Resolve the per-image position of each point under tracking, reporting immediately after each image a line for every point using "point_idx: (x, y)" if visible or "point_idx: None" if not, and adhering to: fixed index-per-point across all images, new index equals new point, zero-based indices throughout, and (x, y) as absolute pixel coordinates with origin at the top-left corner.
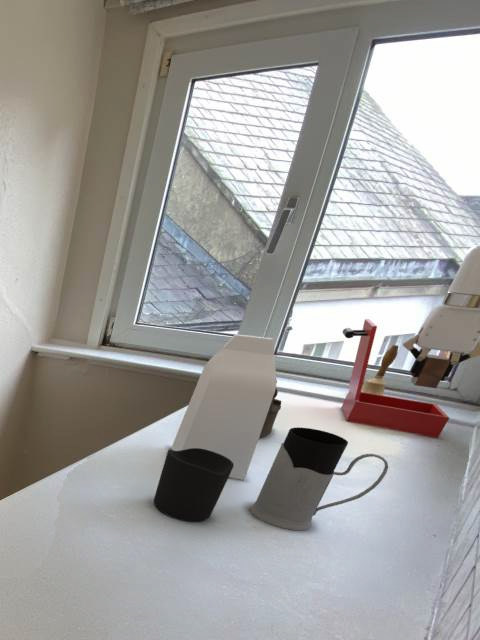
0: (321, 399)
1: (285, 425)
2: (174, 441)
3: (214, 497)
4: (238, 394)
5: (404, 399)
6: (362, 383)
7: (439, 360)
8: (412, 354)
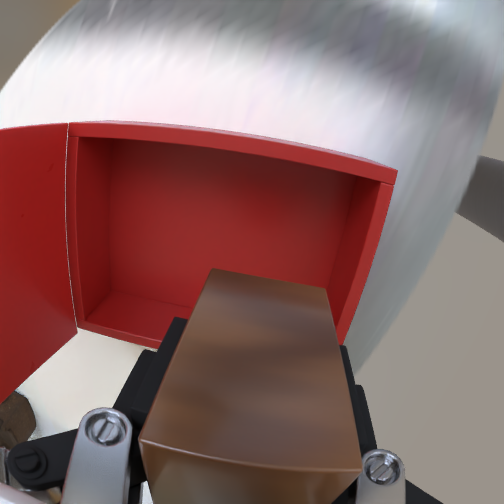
0: (83, 33)
1: (31, 376)
2: None
3: None
4: None
5: (271, 157)
6: (38, 367)
7: None
8: (56, 443)
